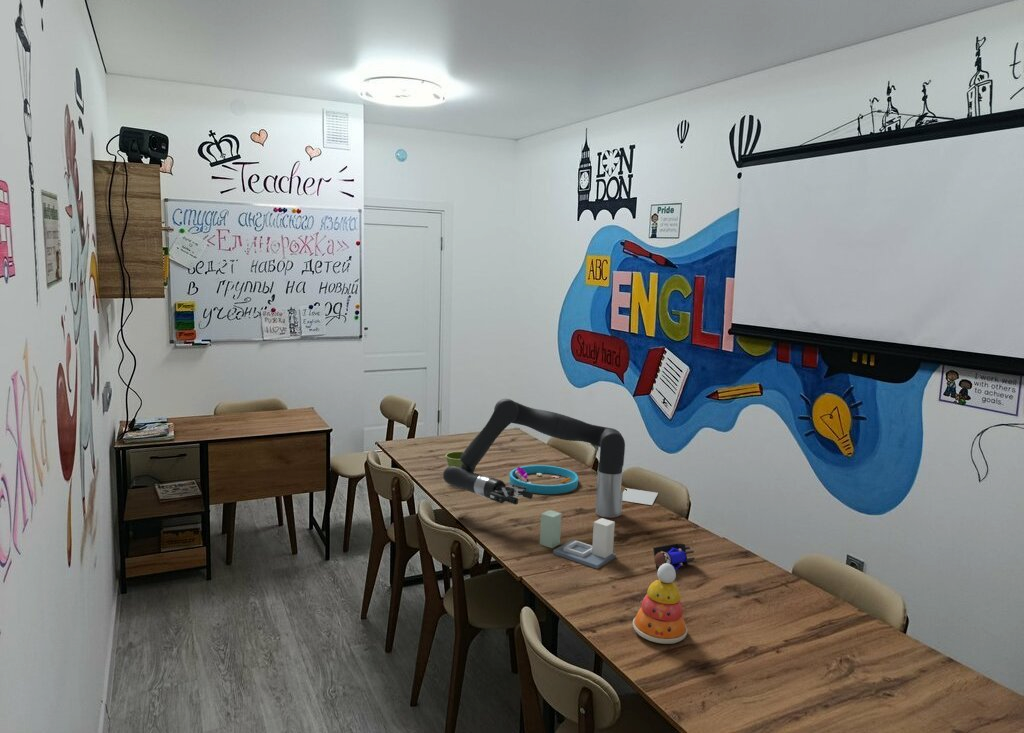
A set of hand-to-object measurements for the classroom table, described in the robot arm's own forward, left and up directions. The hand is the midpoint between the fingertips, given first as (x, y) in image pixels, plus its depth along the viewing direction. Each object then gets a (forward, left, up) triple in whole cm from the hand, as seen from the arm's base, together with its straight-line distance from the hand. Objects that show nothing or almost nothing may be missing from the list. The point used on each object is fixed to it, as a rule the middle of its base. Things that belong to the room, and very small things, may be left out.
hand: (524, 498), depth 247 cm
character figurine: (-36, +39, -14) cm, 55 cm away
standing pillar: (-18, +25, -12) cm, 33 cm away
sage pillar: (-6, +10, -13) cm, 18 cm away
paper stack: (-62, -30, -14) cm, 70 cm away
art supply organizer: (-32, -52, -14) cm, 63 cm away
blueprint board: (-13, +22, -13) cm, 29 cm away
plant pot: (+3, -65, -14) cm, 67 cm away
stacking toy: (-9, +72, -14) cm, 74 cm away
